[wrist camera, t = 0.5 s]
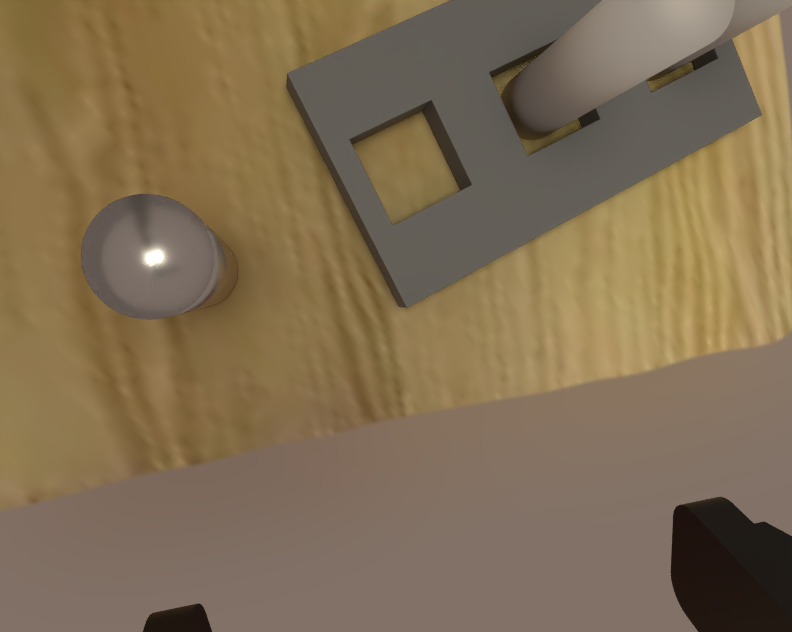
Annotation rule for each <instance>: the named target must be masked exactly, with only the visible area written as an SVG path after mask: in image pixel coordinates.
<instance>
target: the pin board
mask: <svg viewBox="0 0 792 632" xmlns="http://www.w3.org/2000/svg"><path fill="white" fill-rule="evenodd" d="M791 6H792V0H450V1H447V2H445V3H443V4H441V5H439V6H436V7H434V8H432V9H430V10H427V11H425V12H423V13H421V14H419V15H416V16H414V17H412V18H410V19H407V20H405V21H403V22H401V23H399V24H396V25H394V26H392V27H390V28H387V29H385V30H383V31H381V32H379V33H376V34H374V35H372V36H370V37H367V38H365V39H363V40H361V41H359V42H356V43H354V44H352V45H350V46H347V47H345V48H343V49H341V50H339V51H336V52H334V53H332V54H330V55H327V56H325V57H323V58H321V59H319V60H316V61H314V62H312V63H310V64H307V65H305V66H303V67H301V68H298V69H296V70H294V71H292V72H290V73H287V84H286V87H287V89H288V91H289V93H290V95H291V97H292V98H293V100H294V102H295V104H296V106H297V108H298V110H299V112H300V114H301V116H302V118H303V120H304V122H305V124H306V126H307V128H308V130H309V132H310V134H311V136H312V137H313V139H314V141H315V143H316V145H317V147H318V149H319V151H320V153H321V155H322V157H323V159H324V161H325V163H326V165H327V167H328V169H329V171H330V173H331V175H332V177H333V178H334V180H335V182H336V184H337V186H338V188H339V190H340V192H341V194H342V196H343V198H344V200H345V202H346V204H347V206H348V208H349V210H350V212H351V214H352V216H353V217H354V219H355V221H356V223H357V225H358V227H359V229H360V231H361V233H362V235H363V237H364V239H365V241H366V243H367V245H368V247H369V249H370V251H371V253H372V255H373V257H374V258H375V260H376V262H377V264H378V266H379V268H380V270H381V272H382V274H383V276H384V278H385V280H386V282H387V284H388V286H389V288H390V290H391V292H392V294H393V296H394V298H395V299H396V301H397V303H398V305H399V307H406V308H407V307H409V306H411V305H413V304H414V303H416V302H418V301H420V300H422V299H424V298H426V297H427V296H429V295H431V294H433V293H435V292H437V291H438V290H440V289H442V288H444V287H446V286H448V285H450V284H451V283H453V282H455V281H457V280H459V279H461V278H462V277H464V276H466V275H468V274H470V273H472V272H473V271H475V270H477V269H479V268H481V267H483V266H485V265H486V264H488V263H490V262H492V261H494V260H496V259H497V258H499V257H501V256H503V255H505V254H507V253H508V252H510V251H512V250H514V249H516V248H518V247H520V246H521V245H523V244H525V243H527V242H529V241H531V240H532V239H534V238H536V237H538V236H540V235H542V234H544V233H545V232H547V231H549V230H551V229H553V228H555V227H556V226H558V225H560V224H562V223H564V222H566V221H567V220H569V219H571V218H573V217H575V216H577V215H579V214H580V213H582V212H584V211H586V210H588V209H590V208H591V207H593V206H595V205H597V204H599V203H601V202H603V201H604V200H606V199H608V198H610V197H612V196H614V195H615V194H617V193H619V192H621V191H623V190H625V189H626V188H628V187H630V186H632V185H634V184H636V183H638V182H639V181H641V180H643V179H645V178H647V177H649V176H650V175H652V174H654V173H656V172H658V171H660V170H662V169H663V168H665V167H667V166H669V165H671V164H673V163H674V162H676V161H678V160H680V159H682V158H684V157H685V156H687V155H689V154H691V153H693V152H695V151H697V150H698V149H700V148H702V147H704V146H706V145H708V144H709V143H711V142H713V141H715V140H717V139H719V138H721V137H722V136H724V135H726V134H728V133H730V132H732V131H733V130H735V129H737V128H739V127H741V126H743V125H744V124H746V123H748V122H750V121H752V120H754V119H756V118H757V117H759V116H761V115H762V114H761V111H760V109H759V106H758V104H757V101H756V98H755V96H754V93H753V91H752V88H751V86H750V83H749V81H748V78H747V76H746V73H745V71H744V68H743V66H742V63H741V61H740V58H739V56H738V53H737V51H736V48H735V46H734V43H733V41H732V38H734V37H736V36H738V35H739V34H741V33H743V32H745V31H747V30H749V29H750V28H752V27H754V26H756V25H758V24H759V23H761V22H763V21H765V20H767V19H769V18H770V17H772V16H774V15H776V14H778V13H780V12H781V11H783V10H785V9H787V8H789V7H791ZM541 53H542V54H541ZM539 54H540V55H539ZM537 55H539V56H538V57H537V58H536V59H535V60H534V61H532V62H531V63H530V64H529V65H528V66H527V67H526V68H524V69H523V70H522V71H521V72H520V73H519V74H518V75H516V76H515V77H514V78H513V79H512V80H511V81H510V82H509V83H508V84H507V85H506V87H505V89H504V90H503V93H502V96H501V97H500V95H499V93H498V91H497V89H496V86H495V84H494V82H493V80H492V78H491V77H493V76H495V75H497V74H499V73H501V72H503V71H506V70H508V69H510V68H512V67H514V66H516V65H518V64H520V63H522V62H524V61H526V60H528V59H530V58H533V57H535V56H537ZM690 61H692V63H693V65H694V68H695V71H693V72H691V73H689V74H687V75H685V76H683V77H681V78H679V79H677V80H675V81H673V82H671V83H670V84H668V85H666V86H664V87H662V88H660V89H658V90H656V91H654V92H652V93H651V90H650V88H649V86H648V83H647V81H646V80H656V79H659V78H661V77H663V76H664V75H666V74H668V73H670V72H672V71H674V70H675V69H677V68H679V67H681V66H683V65H685V64H686V63H688V62H690ZM420 111H423V113H424V115H425V117H426V119H427V121H428V123H429V125H430V127H431V129H432V131H433V133H434V135H435V138H436V140H437V142H438V144H439V146H440V148H441V150H442V152H443V154H444V156H445V158H446V160H447V162H448V165H449V167H450V169H451V171H452V173H453V175H454V177H455V179H456V181H457V183H458V185H459V187H460V189H461V191H459V192H457V193H455V194H453V195H452V196H450V197H448V198H446V199H444V200H442V201H440V202H438V203H436V204H434V205H432V206H430V207H428V208H426V209H424V210H422V211H420V212H418V213H417V214H415V215H413V216H411V217H409V218H407V219H405V220H403V221H401V222H399V223H397V224H395V225H392V223H391V221H390V219H389V217H388V215H387V213H386V211H385V209H384V207H383V205H382V203H381V201H380V199H379V197H378V195H377V193H376V191H375V189H374V187H373V185H372V183H371V181H370V179H369V177H368V175H367V173H366V171H365V169H364V167H363V165H362V163H361V161H360V160H359V158H358V156H357V154H356V152H355V150H354V148H353V146H352V144H354V143H356V142H358V141H360V140H362V139H364V138H366V137H368V136H371V135H373V134H375V133H377V132H379V131H381V130H383V129H385V128H387V127H389V126H391V125H393V124H395V123H398V122H400V121H402V120H404V119H406V118H408V117H410V116H412V115H414V114H416V113H418V112H420ZM577 118H579V120H580V122H581V125H582V127H583V128H582V129H580V130H578V131H576V132H574V133H572V134H570V135H568V136H566V137H564V138H562V139H561V140H559V141H557V142H555V143H553V144H551V145H549V146H547V147H545V148H543V149H541V150H539V151H537V152H535V153H533V154H531V155H529V156H527V154H526V152H525V149H524V147H523V145H522V143H521V141H520V139H519V137H521V138H524V139H529V140H535V139H540V138H543V137H545V136H547V135H549V134H550V133H552V132H554V131H556V130H558V129H559V128H561V127H563V126H565V125H566V124H568V123H570V122H572V121H574V120H575V119H577Z"/></svg>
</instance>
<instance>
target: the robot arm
mask: <svg viewBox="0 0 792 632" xmlns="http://www.w3.org/2000/svg"><path fill="white" fill-rule="evenodd" d="M671 580H672V584H673V588H674V592H675V595H676V597H677V599H678V602H679V604H680V606H681V607H682V609H683V611H684V613H685V614H686V615H687V617H688V618H689V619H690V621H691V622H692V624H693V625H694V626H695V628H696V629H697V631H698V632H792V536H790V535H788V534H787V533H785V532H783V531H781V530H779V529H777V528H775V527H773V526H772V525H770V524H768V523H766V522H760V523H756V524H754V523H753V522H752V521H750V520H749V519H748V518H747V517H746V516H745V515H744V514H743V513H742V512H741V511H740V510H739V509H738V508H737V507H736V506H735V505H734V504H733V503H732V502H730V501H729V500H728V499H726V498H723V497H716V498H711V499H706V500H702V501H697V502H692V503H687V504H683V505H679V506H677V507H676V508H675V510H674V514H673V535H672V556H671ZM143 632H212V630H211V627H210V624H209V621H208V618H207V615H206V612H205V610H204V608H203V606H202V605H201V604H194V605H189V606H184V607H180V608H174V609H170V610H165V611H160V612H155V613H152V614H151V615H150V616H149V617H148V619H147V621H146V624H145V627H144V630H143Z"/></svg>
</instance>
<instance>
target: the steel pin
mask: <svg viewBox="0 0 792 632" xmlns="http://www.w3.org/2000/svg"><path fill="white" fill-rule="evenodd" d="M81 262H82V268H83V272H84V275H85V278H86V280H87V282H88V284H89V286H90V287H91V289H92V290H93V292H94V293H95V294H96V295H97V296H98V298H99V299H100V300H101V301H102V302H104V303H105V304H106V305H107V306H109V307H110V308H112V309H113V310H115V311H117V312H119V313H121V314H123V315H126V316H129V317H133V318H138V319H147V320H148V319H161V318H166V317H170V316H174V315H178V314H182V313H186V312H190V311H193V310H197V309H201V308H205V307H209V306H212V305H215V304H218V303H220V302H221V301H223V300H224V299H225V298H227V297H228V296H229V295H230V293H231V292H232V291H233V289H234V287H235V285H236V282H237V278H238V265H237V261H236V258H235V256H234V254H233V253H232V251H231V250H230V249H229V247H228V246H227V245H226V244H225V243H224V242H223V241H222V240H221V239H220V238H219V237H218V236H217V235H216V234H215V233H214V232H213V231H212V230H211V229H210V228H209V227H208V226H207V225H206V224H205V223H204V222H203V221H202V220H201V219H200V218H199V217H198V216H197V215H196V214H194V213H193V212H192V211H191V210H190V209H189V208H187V207H186V206H184V205H183V204H181V203H179V202H177V201H175V200H173V199H170V198H168V197H164V196H160V195H153V194H138V195H132V196H128V197H124V198H121V199H119V200H116V201H115V202H113V203H111V204H109V205H108V206H106V207H105V208H104V209H102V210H101V211H100V212H99V213H98V214H97V215H96V216H95V218H94V219H93V220H92V222H91V223H90V225H89V227H88V228H87V230H86V233H85V235H84V238H83V242H82V249H81Z"/></svg>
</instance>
